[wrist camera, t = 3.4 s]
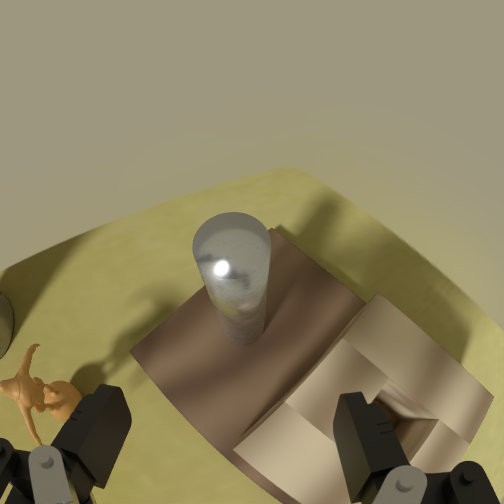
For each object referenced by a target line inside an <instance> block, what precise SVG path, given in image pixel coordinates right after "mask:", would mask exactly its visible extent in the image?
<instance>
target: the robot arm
mask: <svg viewBox="0 0 504 504" xmlns="http://www.w3.org/2000/svg"><path fill="white" fill-rule="evenodd" d="M13 324H14V322H13V310H12V307H11V304H10V302H9V300H8V299H7V298H6V297H4V296H3V295H1V294H0V358H1V357H2V356H3V355H4V353H5V352H6V350H7V348H8V346H9V343H10V340H11V337H12V332H13ZM131 422H132V418H131V413H130V410H129V408H128V405H127V403H126V400H125V397H124V394H123V391H122V389H121V388H120V387H116V386H111V385H106V384H101V385H99V387H98V388H97V390H96V391H95V393H94V394H89V395H87V396H86V397H85V398H83V399H82V400H80V402H79V403H78V405H77V406H76V407H75V409H74V412H72V413H71V415H70V416H69V419H67V421H66V422H65V424H64V425H63V427H62V428H61V430H60V431H59V433H58V435H57V436H56V438H55V439H54V441H53V442H52V444H51V445H50V446H49V445H42V446H39V447H37V448H35V449H34V450H33V451H32V452H29V451H22V450H17V449H14V447H13V446H12V445H11V443H10V442H9V441H8V440H6V439H4V438H0V499H1V497H2V495H3V493H4V491H5V489H6V487H7V485H8V483H10V484H11V485H12V486H13V487H12V489H11V491H10V493H9V495H8V497H7V499H6V502H5V504H97V503H96V501H95V498H94V495H93V493H92V492H91V490H92V488H93V486H96V487H99V488H102V489H104V488H105V486H106V483H107V481H108V479H109V476H110V474H111V471H112V469H113V467H114V464H115V462H116V460H117V457H118V455H119V453H120V450H121V448H122V446H123V443H124V441H125V439H126V437H127V434H128V432H129V430H130V427H131ZM333 435H334V439H335V442H336V446H337V450H338V454H339V458H340V462H341V466H342V469H343V473H344V477H345V481H346V485H347V489H348V493H349V498H350V502H351V504H354V503H358V502H361V504H500V502H499V500H498V498H497V496H496V494H495V492H494V489H493V487H492V485H491V483H490V481H489V479H488V477H487V475H486V473H485V471H484V469H483V468H482V467H481V465H479V464H478V463H476V462H473V461H464V462H461V463H459V464H457V465H456V466H455V467H454V468H453V469H452V471H450V472H441V473H424V472H423V471H422V470H421V469H419V468H417V467H414V466H411V464H410V463H409V461H408V459H407V457H406V455H405V453H404V451H403V448H402V446H401V444H400V442H399V440H398V438H397V436H396V433H395V432H394V429H393V427H392V425H391V423H390V421H389V419H388V417H387V415H386V413H385V411H384V410H383V409H382V408H381V407H380V406H378V405H377V404H376V403H370V404H367V401H366V399H365V397H364V395H363V393H362V392H361V391H359V392H352V393H344V394H340V396H339V400H338V404H337V408H336V412H335V416H334V420H333Z"/></svg>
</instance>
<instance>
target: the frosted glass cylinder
mask: <svg viewBox="0 0 504 504" xmlns="http://www.w3.org/2000/svg"><path fill="white" fill-rule="evenodd" d="M270 251H271V239H270V235H269V233H268V231H267V229H266V227H265V226H264V225H263V224H262V223H261V222H260V221H259V220H257V219H256V218H254V217H252V216H250V215H248V214H244V213H238V212H229V213H223V214H219V215H217V216H214V217H212V218H210V219H209V220H207V221H206V222H205V223H204V224H203V225H202V226H201V227H200V228H199V229H198V231H197V233H196V234H195V237H194V240H193V254H194V258H195V260H196V263H197V266H198V268H199V271H200V273H201V276H202V279H203V281H204V284H205V286H206V289H207V291H208V294H209V296H210V299H211V301H212V304H213V306H214V309H215V311H216V314H217V316H218V318H219V321H220V323H221V326H222V328H223V330H224V333H225V335H226V337H227V338H228V339H229V340H230V341H231V342H232V343H234V344H236V345H240V346H248V345H251V344H253V343H255V342H257V341H258V340H259V339H260V337H261V336H262V334H263V331H264V322H265V311H266V299H267V288H268V276H269V264H270Z"/></svg>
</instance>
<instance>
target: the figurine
mask: <svg viewBox="0 0 504 504" xmlns="http://www.w3.org/2000/svg"><path fill="white" fill-rule="evenodd" d="M38 346H40V345H39V344H33V345H31V347H30V348H29V349H28V350H27V352H26V354H25V356H24V359H23V363H22V366H21V367H20V369H19V371H18V373H17V375H16V376H15V377H14V378H12V379H8V380H3V381H1V382H0V390H1V391H2V392H3V393H4V394H6V395H7V396H9V397H11V398H12V399H13V400H14V401H16V403H17V405H18V406H19V408H20V410H21V412H22V414H23V416H24V419H25V422H26V425H27V427H28V429H29V431H30V433H31V435H32V437H33V438H34V439H35V441H36V442H37V443H38V444H39V445H40V446H42V445H43V444H42V443H41V440H40V438H39V436H38V435H37V434H36V429H35V426H34V423H33V419H32V416H31V408H32V407H33V406H34V410H35V411H36V412H38V413H41V412H44V411H45V410H47V411H49V412H50V413H51V414H52V415H53V416H54V417H55V418H57V419H59V420H61V421H67V419H69V416H70V415H71V413H72V412H74V409H75V407H76V406H77V405H78V403H79V402H80V400H82V396H81V394H80V392H79V391H78V390H77V388H76V387H75V386H73V385H72V384H70V383H68V382H65V381H55V382H53V383H51V384H50V385H48V384H44V383H43V381H42V380H41V379H39V378H37V377H35V378H33V379H32V378H31V377H30V375H29V368H30V364H31V360H32V354H33V353H34V351H35V350H36V347H38ZM43 390H44V391H45V394H44V392H43ZM44 401H45V403H44Z"/></svg>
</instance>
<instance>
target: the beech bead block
mask: <svg viewBox="0 0 504 504" xmlns="http://www.w3.org/2000/svg"><path fill="white" fill-rule="evenodd" d="M359 391H361V392H362V393H363V395H364V397H365V399H366V401H367V404H370V403H371V402H372V401H373V400H374V398H375V399H376V400H377V401H378V402H380V403H381V404H382V405H383V406H384V407H386V408H387V409H388V410H389V411H391V412H392V413H393V414H394V415H396V416H397V417H398V418H399V419H401V421H400V423H399V424H398V425H397V427H396V428H395V429H394V432H395V433H396V436H397V438H398V440H399V442H400V444H401V446H402V448H403V451H404V453H405V455H406V457H407V459H408V461H409V463H410V464H411V466H414V467H417V468H419V469H421V470H422V471H423V472H424V473H441V472H450V471H452V469H453V468H454V467H455V466H456V465H457V464H458V463H459V462H460V460H461V458H462V457H463V455H464V454H465V452H466V450H467V449H468V447H469V445H470V444H471V442H472V440H473V438H474V436H475V435H476V433H477V431H478V429H479V427H480V425H481V423H482V421H483V419H484V417H485V415H486V413H487V411H488V409H489V407H490V405H491V403H492V401H493V398H494V396H493V395H492V394H491V393H490V392H489V391H488V390H487V389H486V388H485V387H484V386H483V385H482V384H481V383H480V382H478V381H477V380H476V379H475V378H474V377H473V376H472V375H471V374H470V373H469V372H468V371H467V370H466V369H465V368H464V367H463V366H462V365H461V364H460V363H458V362H457V361H456V360H455V359H454V358H453V357H452V356H451V355H450V354H449V353H448V352H447V351H445V350H444V349H443V348H442V347H441V346H440V345H439V344H438V343H437V342H435V341H434V340H433V339H432V338H431V337H430V336H429V335H428V334H426V333H425V332H424V331H423V330H422V329H421V328H420V327H419V326H417V325H416V324H415V323H414V322H413V321H412V320H410V319H409V318H408V317H407V316H406V315H405V314H403V313H402V312H401V311H400V310H399V309H398V308H396V307H395V306H394V305H393V304H392V303H391V302H389V301H388V300H387V299H386V298H385V297H383V296H382V295H381V294H380V293H379V292H377V293H376V294H375V295H374V297H373V298H372V299H371V300H370V301H369V302H368V303H367V304H366V305H365V306H364V307H363V308H362V309H361V310H360V311H359V312H358V313H357V315H356V316H355V317H354V318H353V319H352V320H351V321H350V322H349V324H348V325H347V326H346V327H345V329H344V330H343V331H342V332H341V334H340V335H339V336H338V337H337V338H336V339H335V341H334V342H333V343H332V344H331V345H330V347H329V348H328V349H327V350H326V351H325V352H324V353H323V355H322V356H321V357H320V358H319V359H318V360H317V361H316V363H315V364H314V365H313V366H312V367H311V368H310V369H309V370H308V371H307V372H306V373H305V375H304V376H303V377H302V378H301V379H300V380H299V381H298V382H297V383H296V384H295V385H294V386H293V387H292V388H291V389H290V390H289V391H288V392H287V393H286V394H285V395H284V396H283V397H282V398H281V399H280V400H279V401H278V402H277V403H276V404H275V405H274V406H273V407H272V408H271V409H270V410H269V411H268V412H267V413H266V414H265V415H264V416H263V417H262V418H261V419H260V420H259V421H258V422H256V423H255V424H254V425H253V426H252V427H251V428H250V429H249V430H248V431H247V432H245V433H244V434H243V435H242V436H241V437H240V438H239V439H238V441H237V443H236V445H235V447H234V448H233V450H234V451H235V452H236V453H237V454H238V455H240V456H241V457H242V458H243V459H244V460H245V461H246V462H248V463H249V464H250V465H251V466H252V467H254V468H255V469H256V470H257V471H258V472H260V473H261V474H262V475H263V476H265V477H266V478H267V479H268V480H270V481H271V482H272V483H274V484H275V485H276V486H278V487H279V488H280V489H282V490H283V491H284V492H286V493H287V494H288V495H290V496H291V497H293V498H294V499H295V500H297V501H298V502H300V503H301V504H351V502H350V498H349V493H348V489H347V485H346V481H345V477H344V473H343V469H342V466H341V462H340V458H339V454H338V450H337V446H336V442H335V439H334V435H333V420H334V416H335V412H336V408H337V404H338V400H339V396H340V394H344V393H352V392H359ZM354 504H361V502H358V503H354Z"/></svg>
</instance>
